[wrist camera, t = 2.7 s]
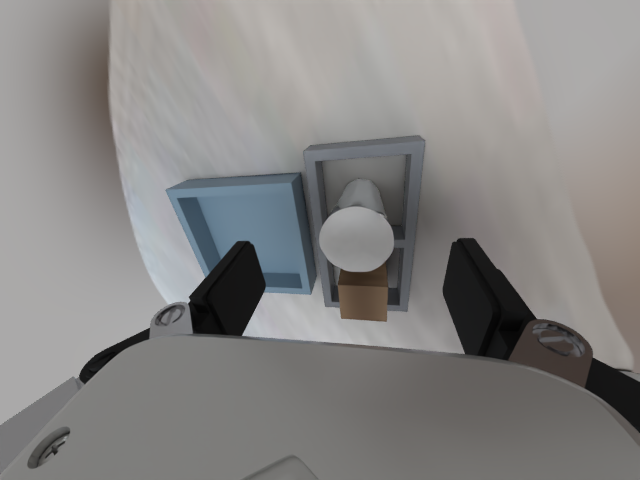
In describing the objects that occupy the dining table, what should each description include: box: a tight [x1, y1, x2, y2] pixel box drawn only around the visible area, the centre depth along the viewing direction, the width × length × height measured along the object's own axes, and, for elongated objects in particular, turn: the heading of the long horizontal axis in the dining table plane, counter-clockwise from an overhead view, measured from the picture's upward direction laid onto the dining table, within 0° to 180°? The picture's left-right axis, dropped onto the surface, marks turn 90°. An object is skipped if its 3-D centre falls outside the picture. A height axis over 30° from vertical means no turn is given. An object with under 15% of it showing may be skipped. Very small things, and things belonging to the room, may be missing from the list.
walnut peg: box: [338, 261, 388, 322], centre depth 23 cm, size 4×4×6 cm
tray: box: [166, 172, 317, 295], centre depth 24 cm, size 12×12×3 cm
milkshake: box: [319, 178, 394, 272], centre depth 17 cm, size 5×5×10 cm
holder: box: [303, 136, 425, 312], centre depth 22 cm, size 9×16×2 cm, turn 7°
